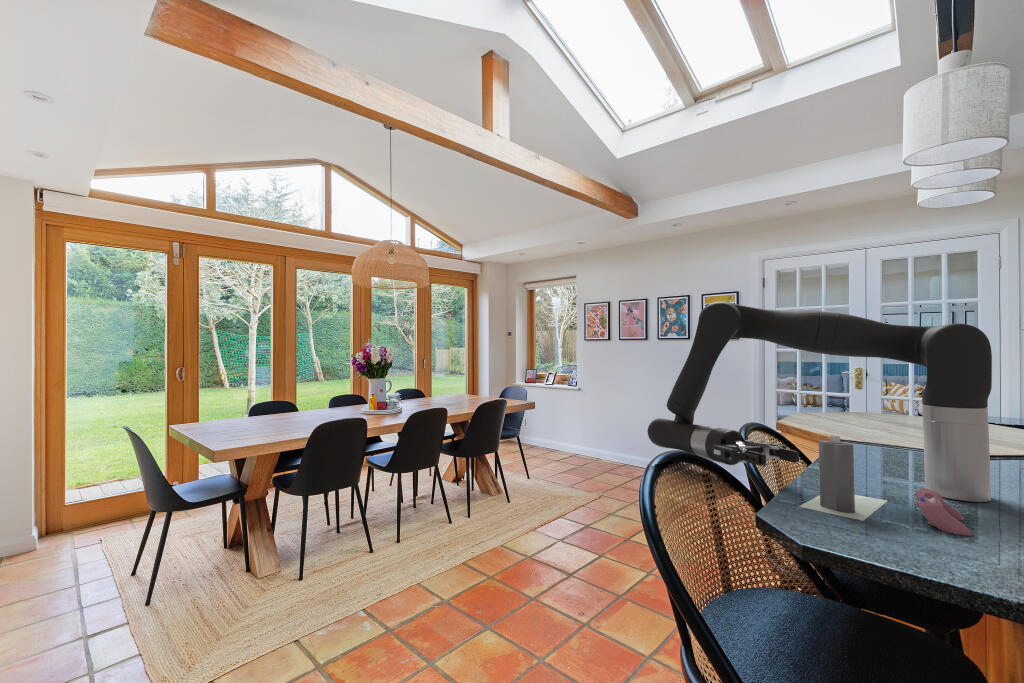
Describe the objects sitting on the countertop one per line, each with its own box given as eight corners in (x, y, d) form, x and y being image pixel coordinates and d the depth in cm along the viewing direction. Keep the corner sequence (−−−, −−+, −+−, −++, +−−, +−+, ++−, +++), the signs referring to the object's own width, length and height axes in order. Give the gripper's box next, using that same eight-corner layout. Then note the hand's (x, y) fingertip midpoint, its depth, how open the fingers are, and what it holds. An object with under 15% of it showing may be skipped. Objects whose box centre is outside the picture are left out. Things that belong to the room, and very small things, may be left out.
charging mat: (828, 495, 89) (828, 489, 89) (887, 506, 82) (887, 500, 82) (799, 512, 79) (798, 506, 79) (863, 526, 72) (863, 520, 72)
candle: (815, 504, 80) (814, 433, 80) (828, 502, 81) (826, 432, 81) (846, 514, 75) (844, 438, 75) (859, 511, 76) (857, 437, 77)
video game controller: (932, 529, 75) (906, 487, 78) (967, 522, 73) (938, 479, 75) (938, 548, 68) (908, 501, 70) (976, 541, 65) (944, 492, 67)
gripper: (691, 429, 101) (753, 441, 86) (741, 426, 106) (807, 437, 91) (691, 463, 101) (753, 481, 85) (741, 459, 106) (808, 475, 90)
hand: (781, 458), depth 88 cm, fingers open, 8 cm apart
